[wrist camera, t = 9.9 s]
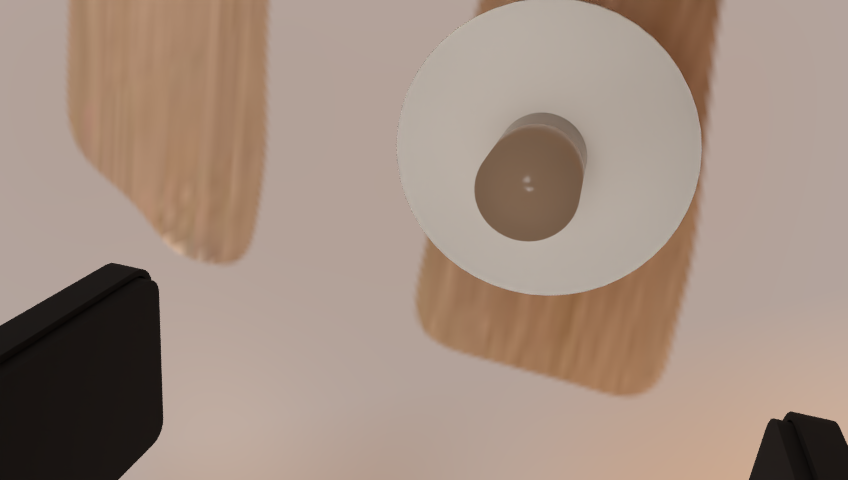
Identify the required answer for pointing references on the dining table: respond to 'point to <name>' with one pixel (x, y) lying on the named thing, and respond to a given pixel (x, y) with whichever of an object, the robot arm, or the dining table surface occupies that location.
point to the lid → (549, 146)
